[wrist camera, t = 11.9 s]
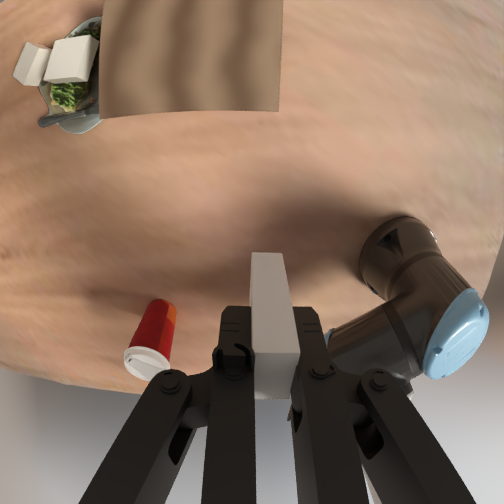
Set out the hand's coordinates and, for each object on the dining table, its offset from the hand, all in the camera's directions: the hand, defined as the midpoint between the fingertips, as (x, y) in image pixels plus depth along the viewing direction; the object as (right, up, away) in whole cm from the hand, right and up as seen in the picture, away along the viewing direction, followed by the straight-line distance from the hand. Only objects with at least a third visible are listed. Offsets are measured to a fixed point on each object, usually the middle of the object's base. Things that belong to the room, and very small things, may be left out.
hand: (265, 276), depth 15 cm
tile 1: (-24, +26, +10) cm, 37 cm away
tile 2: (-33, +30, +13) cm, 47 cm away
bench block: (-8, +27, +17) cm, 33 cm away
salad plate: (-24, +27, +17) cm, 40 cm away
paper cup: (-17, -10, +38) cm, 43 cm away
